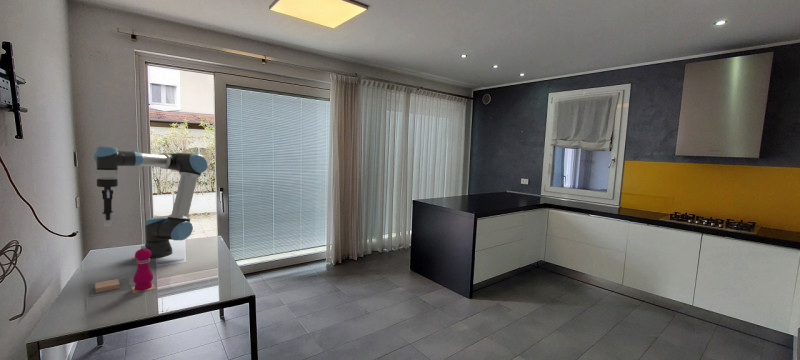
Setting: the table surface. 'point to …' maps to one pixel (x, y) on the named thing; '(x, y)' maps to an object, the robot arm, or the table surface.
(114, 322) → the table surface
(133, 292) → the cork pad
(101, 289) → the tile
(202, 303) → the table surface
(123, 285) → the mat
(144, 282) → the pepper mill
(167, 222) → the robot arm
